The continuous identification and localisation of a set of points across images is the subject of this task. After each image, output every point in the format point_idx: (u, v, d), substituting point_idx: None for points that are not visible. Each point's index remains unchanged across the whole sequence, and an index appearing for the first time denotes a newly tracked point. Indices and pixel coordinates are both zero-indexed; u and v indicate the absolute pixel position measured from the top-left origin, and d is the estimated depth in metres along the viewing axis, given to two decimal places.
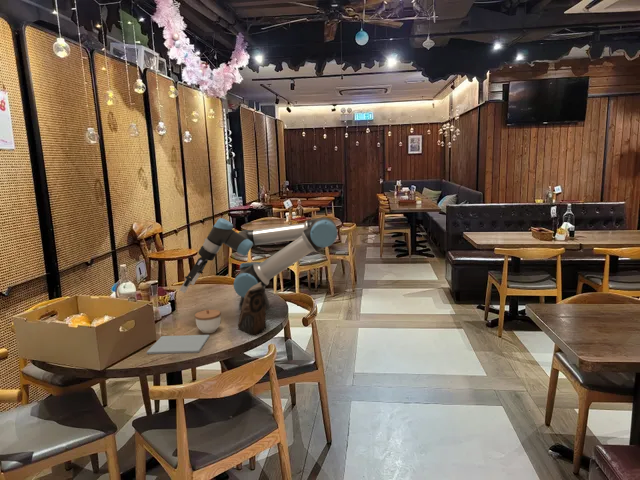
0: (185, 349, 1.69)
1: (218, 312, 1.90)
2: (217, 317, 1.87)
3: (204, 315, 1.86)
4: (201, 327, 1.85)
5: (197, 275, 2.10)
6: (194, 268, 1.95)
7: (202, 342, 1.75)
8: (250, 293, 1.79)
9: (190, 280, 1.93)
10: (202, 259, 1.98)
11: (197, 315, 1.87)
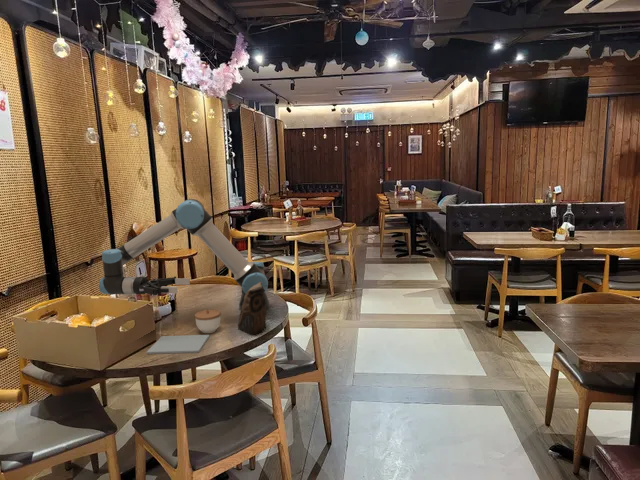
0: (185, 349, 1.69)
1: (218, 312, 1.90)
2: (217, 317, 1.87)
3: (204, 315, 1.86)
4: (201, 327, 1.85)
5: (177, 280, 1.95)
6: (146, 291, 1.82)
7: (202, 342, 1.75)
8: (250, 293, 1.79)
9: (155, 289, 1.79)
10: None
11: (197, 315, 1.87)
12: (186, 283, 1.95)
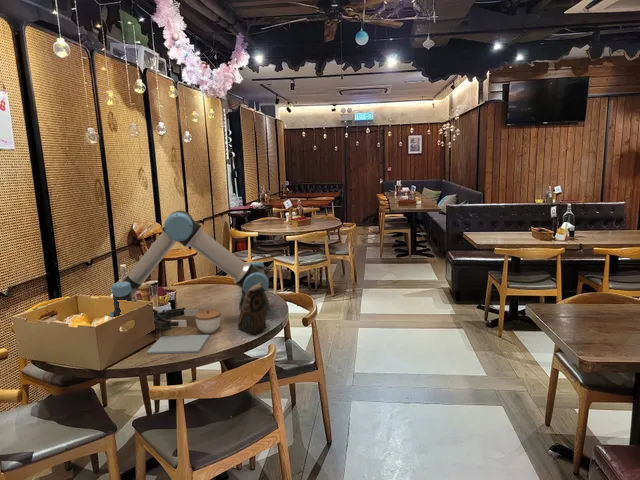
0: (185, 349, 1.69)
1: (218, 312, 1.90)
2: (217, 317, 1.87)
3: (205, 315, 1.86)
4: (201, 327, 1.85)
5: (186, 311, 1.97)
6: (156, 325, 1.84)
7: (202, 342, 1.75)
8: (250, 293, 1.79)
9: (164, 323, 1.81)
10: None
11: (198, 315, 1.87)
12: None
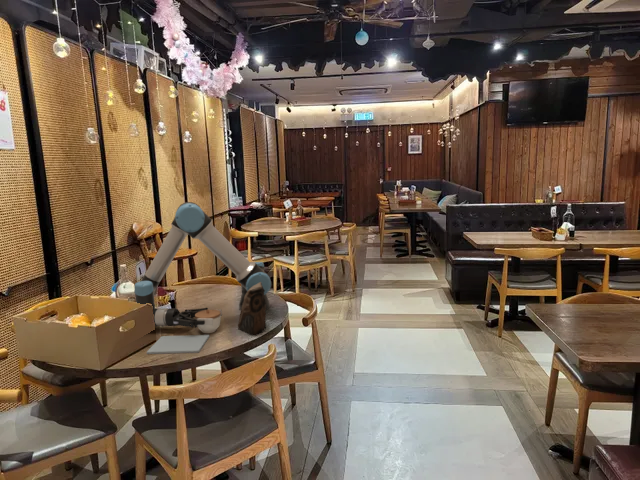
0: (185, 349, 1.69)
1: (218, 312, 1.90)
2: (217, 317, 1.87)
3: (204, 315, 1.86)
4: (201, 327, 1.85)
5: None
6: (181, 324, 1.83)
7: (202, 342, 1.75)
8: (250, 293, 1.79)
9: (191, 322, 1.81)
10: None
11: (197, 315, 1.87)
12: None
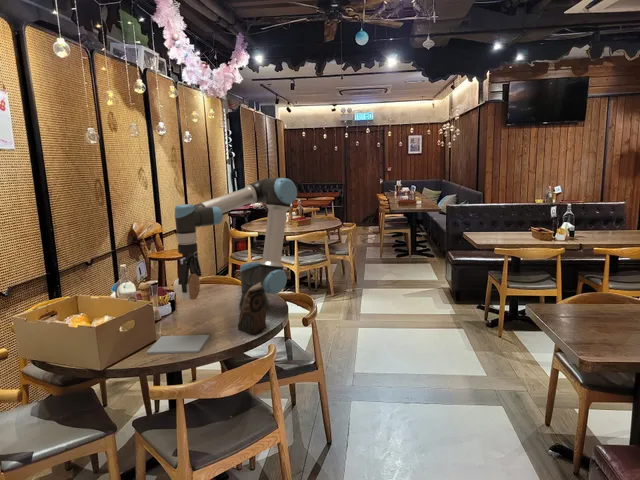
0: (185, 349, 1.69)
1: (197, 296, 1.82)
2: (191, 299, 1.79)
3: (192, 288, 1.77)
4: (179, 286, 1.75)
5: None
6: (180, 269, 1.71)
7: (202, 342, 1.75)
8: (250, 293, 1.79)
9: (184, 283, 1.70)
10: (184, 256, 1.74)
11: (191, 280, 1.77)
12: None
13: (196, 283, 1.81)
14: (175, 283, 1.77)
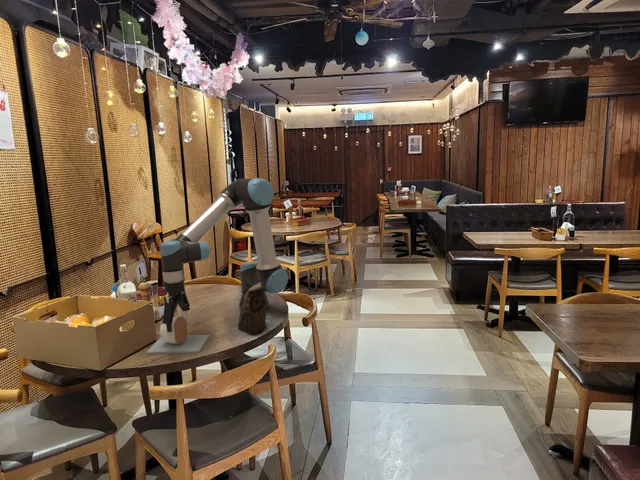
0: (185, 349, 1.69)
1: (184, 339, 1.77)
2: (179, 343, 1.74)
3: (179, 332, 1.72)
4: (165, 331, 1.70)
5: (185, 314, 1.80)
6: (166, 308, 1.65)
7: (202, 342, 1.75)
8: (250, 293, 1.79)
9: (168, 323, 1.64)
10: (170, 294, 1.68)
11: (178, 324, 1.71)
12: None
13: (183, 326, 1.76)
14: (161, 328, 1.72)
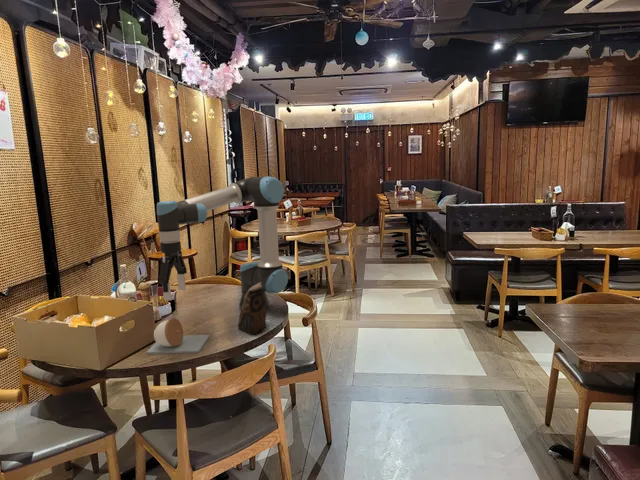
0: (185, 349, 1.69)
1: (182, 335, 1.75)
2: None
3: (173, 338, 1.69)
4: (160, 341, 1.68)
5: (182, 277, 1.78)
6: (162, 268, 1.63)
7: (202, 342, 1.75)
8: (250, 293, 1.79)
9: (164, 282, 1.61)
10: (167, 255, 1.66)
11: (169, 332, 1.67)
12: (179, 286, 1.79)
13: (175, 327, 1.72)
14: (155, 338, 1.69)
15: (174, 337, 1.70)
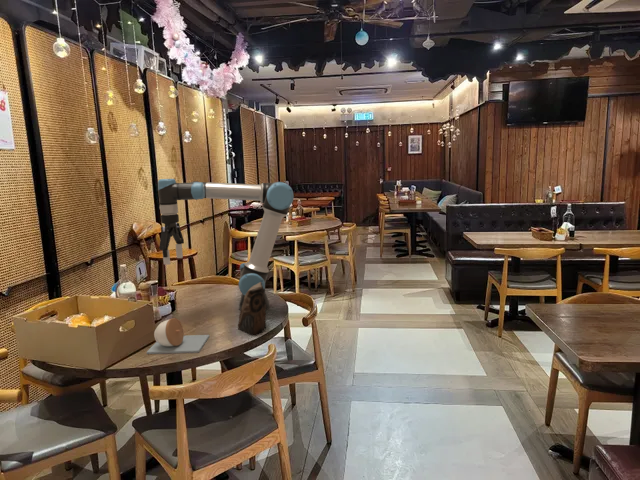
0: (185, 349, 1.69)
1: (182, 336, 1.75)
2: None
3: (174, 337, 1.69)
4: (160, 340, 1.68)
5: (179, 246, 2.03)
6: (162, 236, 1.88)
7: (202, 342, 1.75)
8: (250, 293, 1.79)
9: (164, 248, 1.86)
10: (166, 225, 1.91)
11: (169, 331, 1.68)
12: (177, 255, 2.04)
13: (176, 327, 1.73)
14: (155, 337, 1.70)
15: (174, 336, 1.70)
